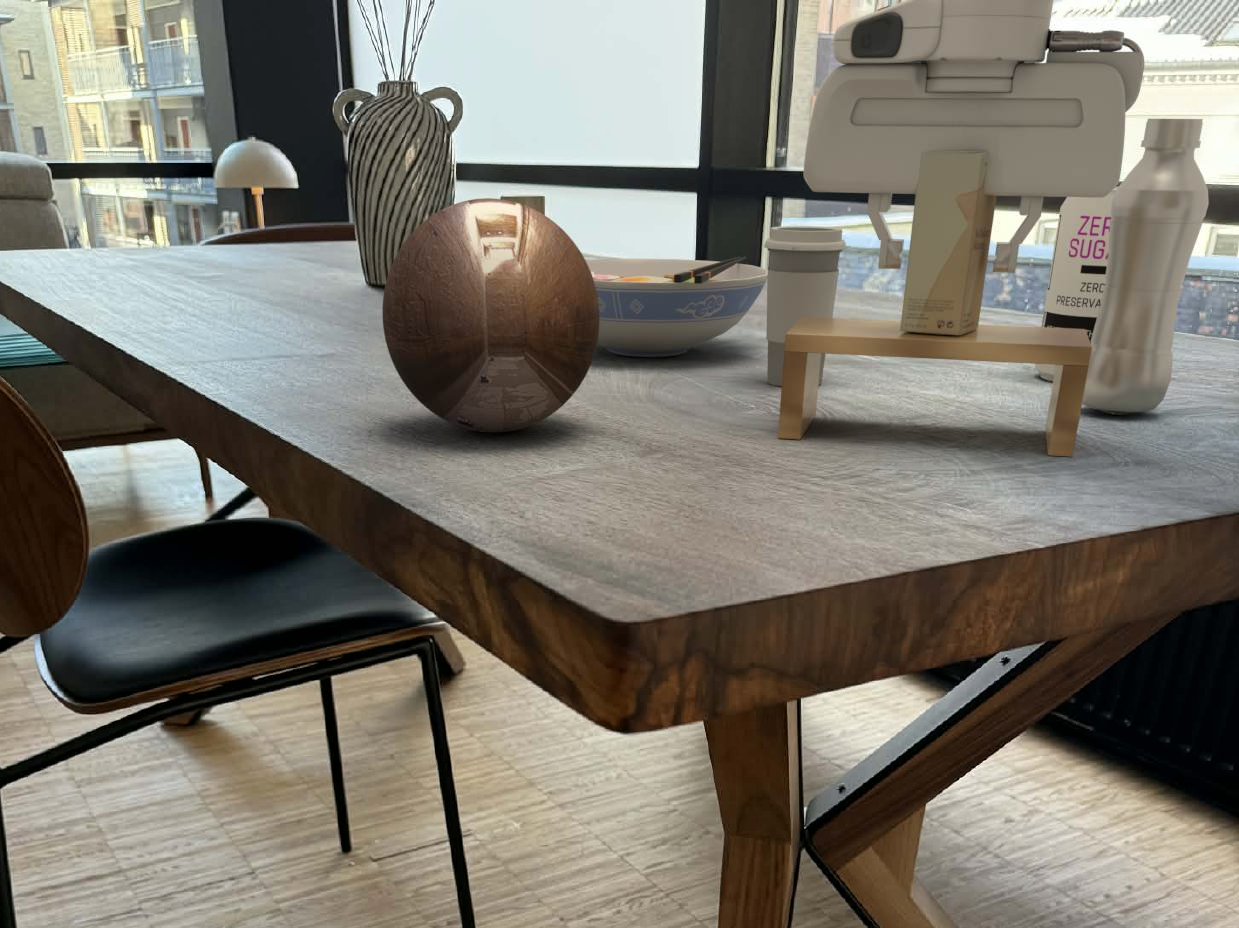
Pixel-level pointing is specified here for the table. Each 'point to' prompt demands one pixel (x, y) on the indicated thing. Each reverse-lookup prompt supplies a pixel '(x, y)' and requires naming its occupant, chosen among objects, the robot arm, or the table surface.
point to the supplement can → (1077, 267)
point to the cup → (799, 284)
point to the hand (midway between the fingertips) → (946, 270)
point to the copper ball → (491, 315)
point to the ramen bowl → (670, 302)
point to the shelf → (979, 345)
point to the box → (948, 244)
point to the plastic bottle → (1146, 270)
